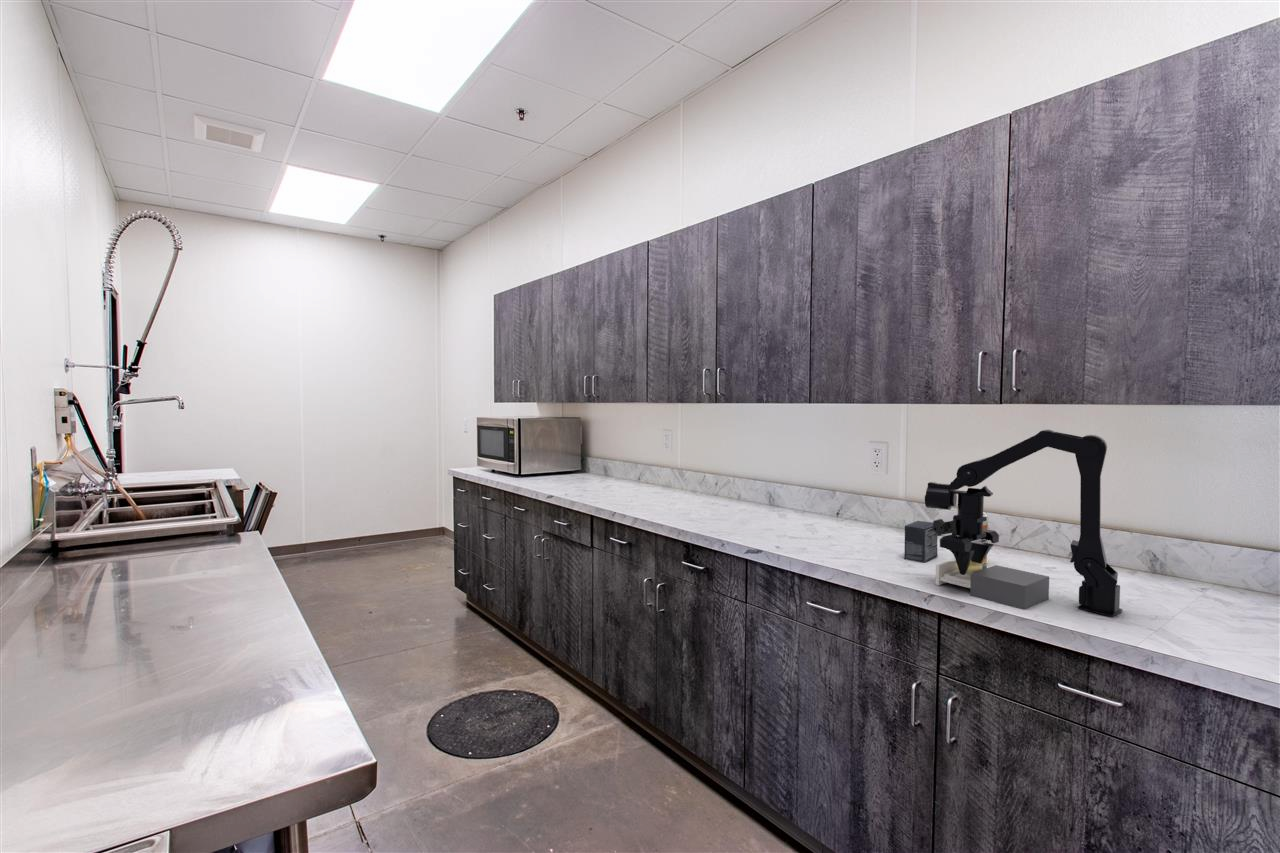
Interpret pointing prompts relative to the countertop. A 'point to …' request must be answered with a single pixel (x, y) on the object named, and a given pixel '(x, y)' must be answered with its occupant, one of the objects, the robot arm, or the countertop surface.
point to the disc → (972, 567)
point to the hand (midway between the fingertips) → (968, 572)
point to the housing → (1010, 586)
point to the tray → (951, 575)
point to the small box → (920, 542)
